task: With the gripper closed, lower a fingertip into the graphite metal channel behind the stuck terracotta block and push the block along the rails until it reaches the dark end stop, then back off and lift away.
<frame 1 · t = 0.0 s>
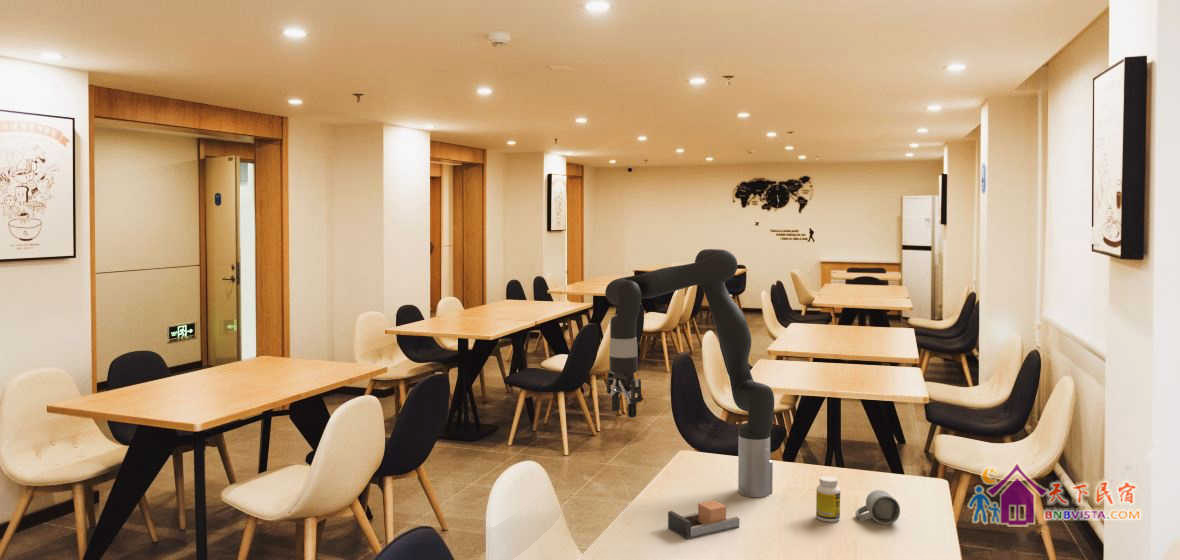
hand: (623, 413, 213), 29 cm above the table, fingers open, 8 cm apart
ceramic mug: (876, 520, 214), on the table
chute: (704, 527, 209), on the table
jammed block: (712, 514, 210), point 3 cm above the table, slide at 0.0 cm
pill bottle: (827, 519, 215), on the table
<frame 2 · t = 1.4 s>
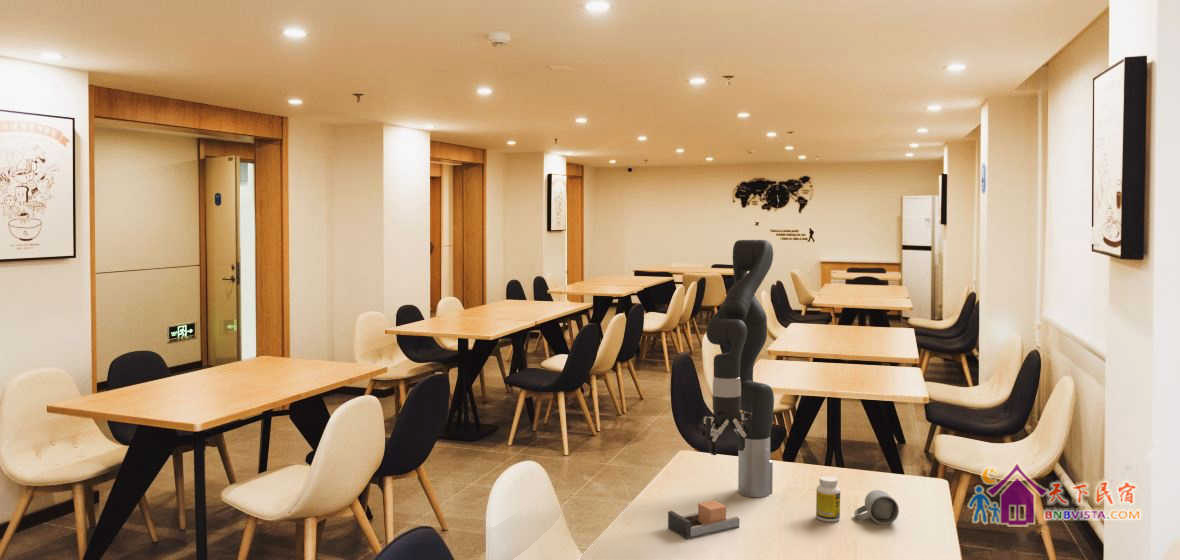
hand: (726, 452, 213), 19 cm above the table, fingers open, 8 cm apart
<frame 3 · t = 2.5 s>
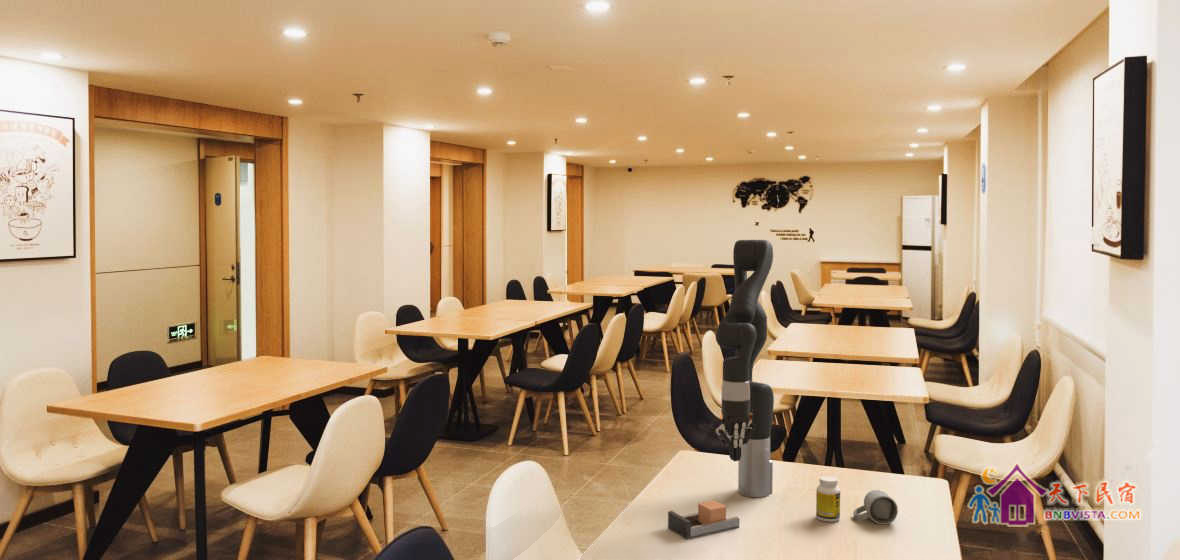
hand: (735, 460, 213), 17 cm above the table, fingers closed
nothing on the table moved.
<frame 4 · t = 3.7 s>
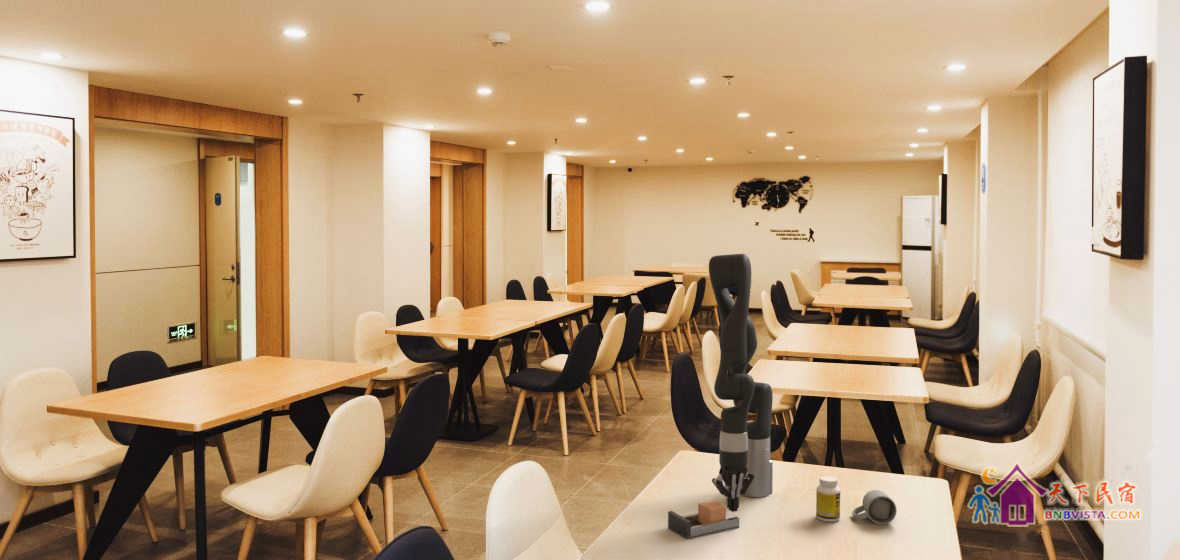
hand: (732, 510, 213), 3 cm above the table, fingers closed
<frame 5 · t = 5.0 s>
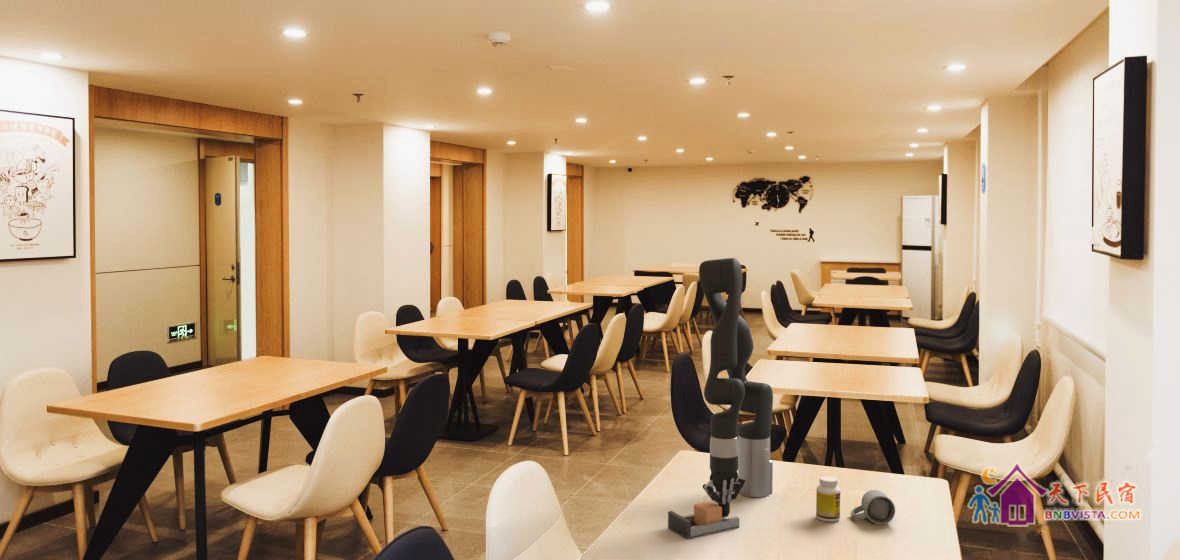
hand: (723, 516, 212), 2 cm above the table, fingers closed
jammed block: (707, 515, 209), point 3 cm above the table, slide at 1.4 cm, touching gripper
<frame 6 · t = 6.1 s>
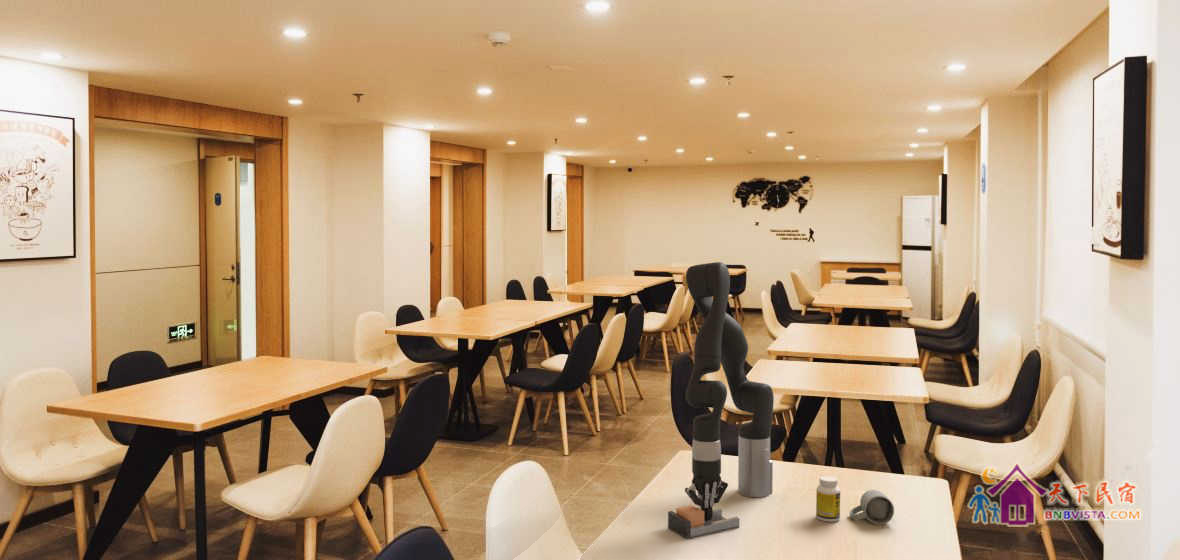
hand: (706, 519, 209), 2 cm above the table, fingers closed
jammed block: (690, 518, 207), point 3 cm above the table, slide at 7.0 cm, touching gripper
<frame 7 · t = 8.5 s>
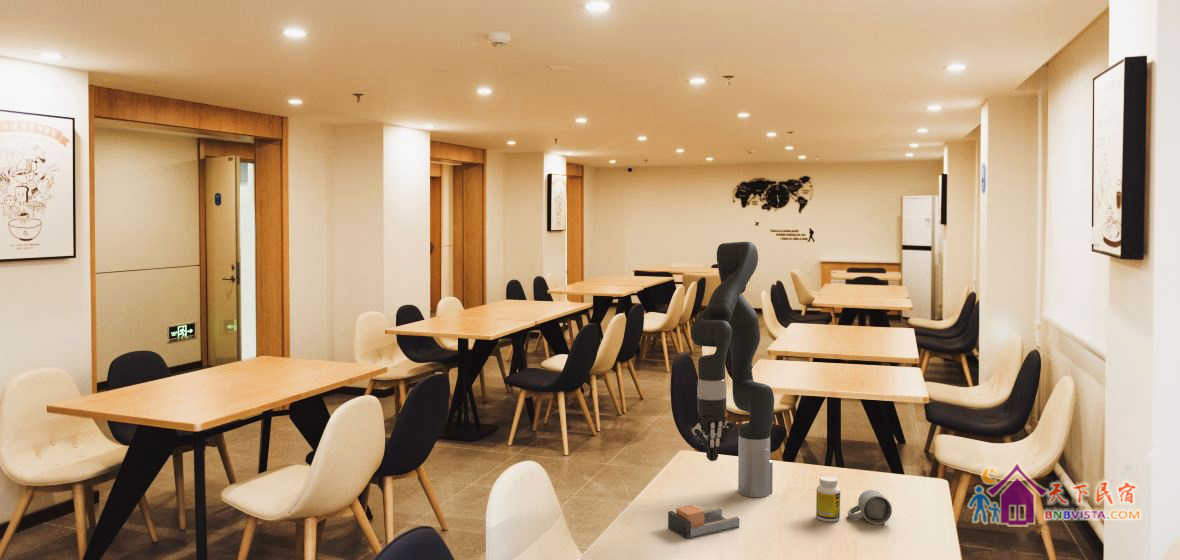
hand: (712, 460, 209), 18 cm above the table, fingers closed
jammed block: (690, 518, 207), point 3 cm above the table, slide at 7.0 cm
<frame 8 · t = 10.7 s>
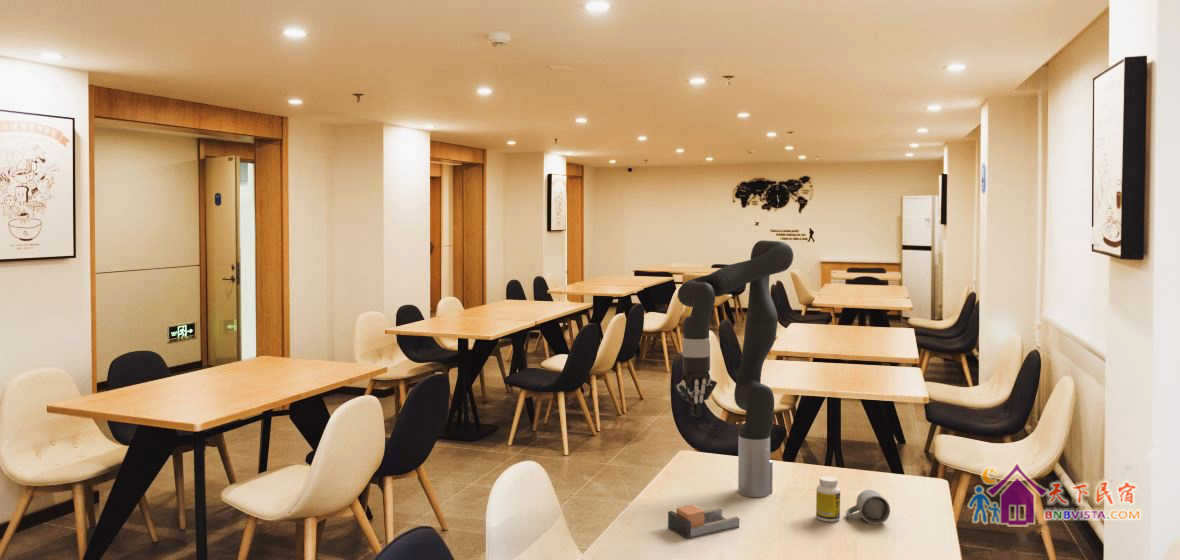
hand: (696, 415, 219), 27 cm above the table, fingers closed
at the end: jammed block slide at 7.0 cm; pill bottle moved 0.2 cm from its start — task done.
